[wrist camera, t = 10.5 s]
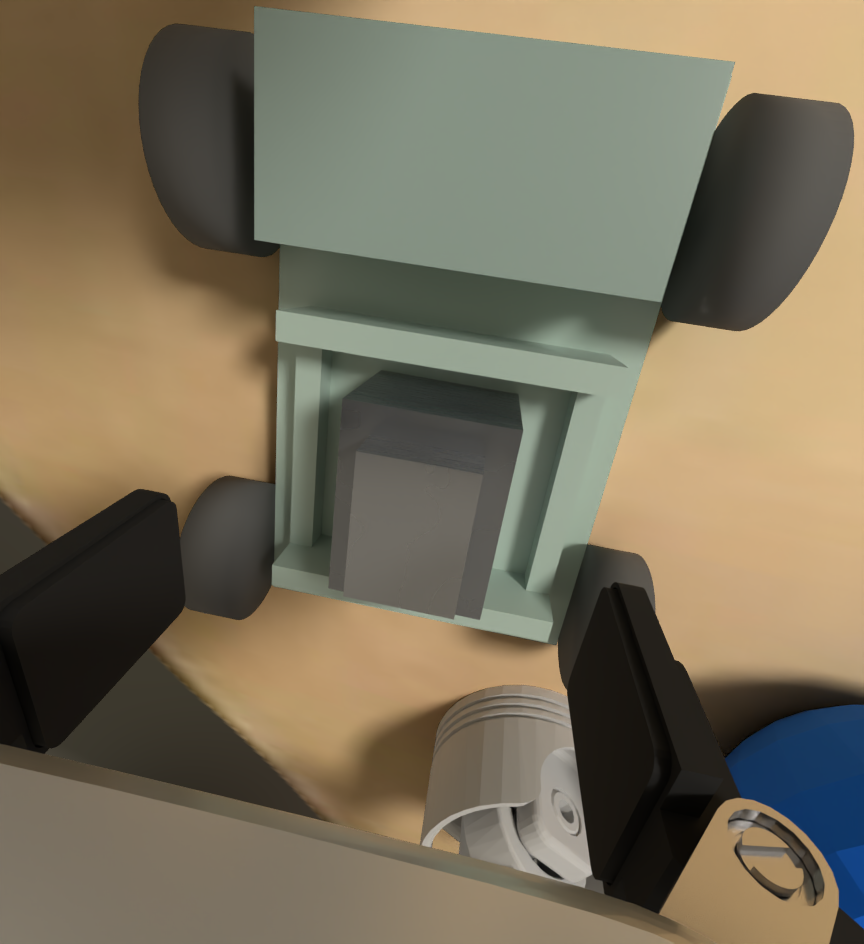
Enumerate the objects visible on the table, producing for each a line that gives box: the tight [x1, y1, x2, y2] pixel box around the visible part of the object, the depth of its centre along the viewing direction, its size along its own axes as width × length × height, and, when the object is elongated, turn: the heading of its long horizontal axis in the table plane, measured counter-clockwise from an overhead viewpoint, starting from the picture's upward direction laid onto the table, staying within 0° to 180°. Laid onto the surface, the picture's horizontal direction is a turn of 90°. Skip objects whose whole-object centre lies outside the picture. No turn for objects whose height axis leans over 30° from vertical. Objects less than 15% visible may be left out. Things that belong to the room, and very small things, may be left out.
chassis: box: [139, 6, 854, 690], centre depth 18 cm, size 22×18×6 cm
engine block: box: [328, 370, 523, 620], centre depth 17 cm, size 7×6×6 cm
